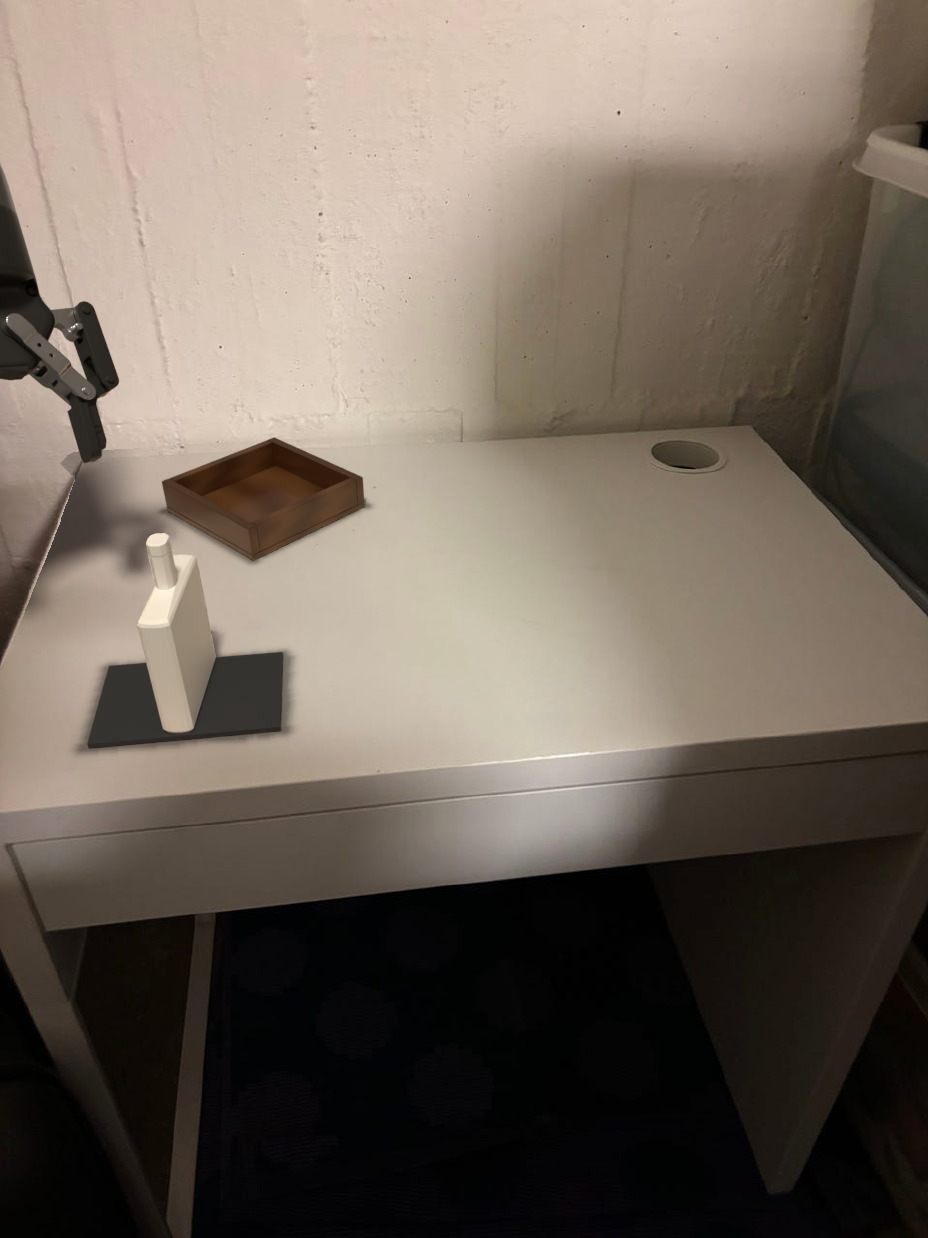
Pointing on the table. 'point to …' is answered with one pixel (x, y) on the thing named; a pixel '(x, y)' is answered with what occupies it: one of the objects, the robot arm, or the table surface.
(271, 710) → the mat
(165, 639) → the perfume bottle
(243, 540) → the compartment
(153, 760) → the table surface
